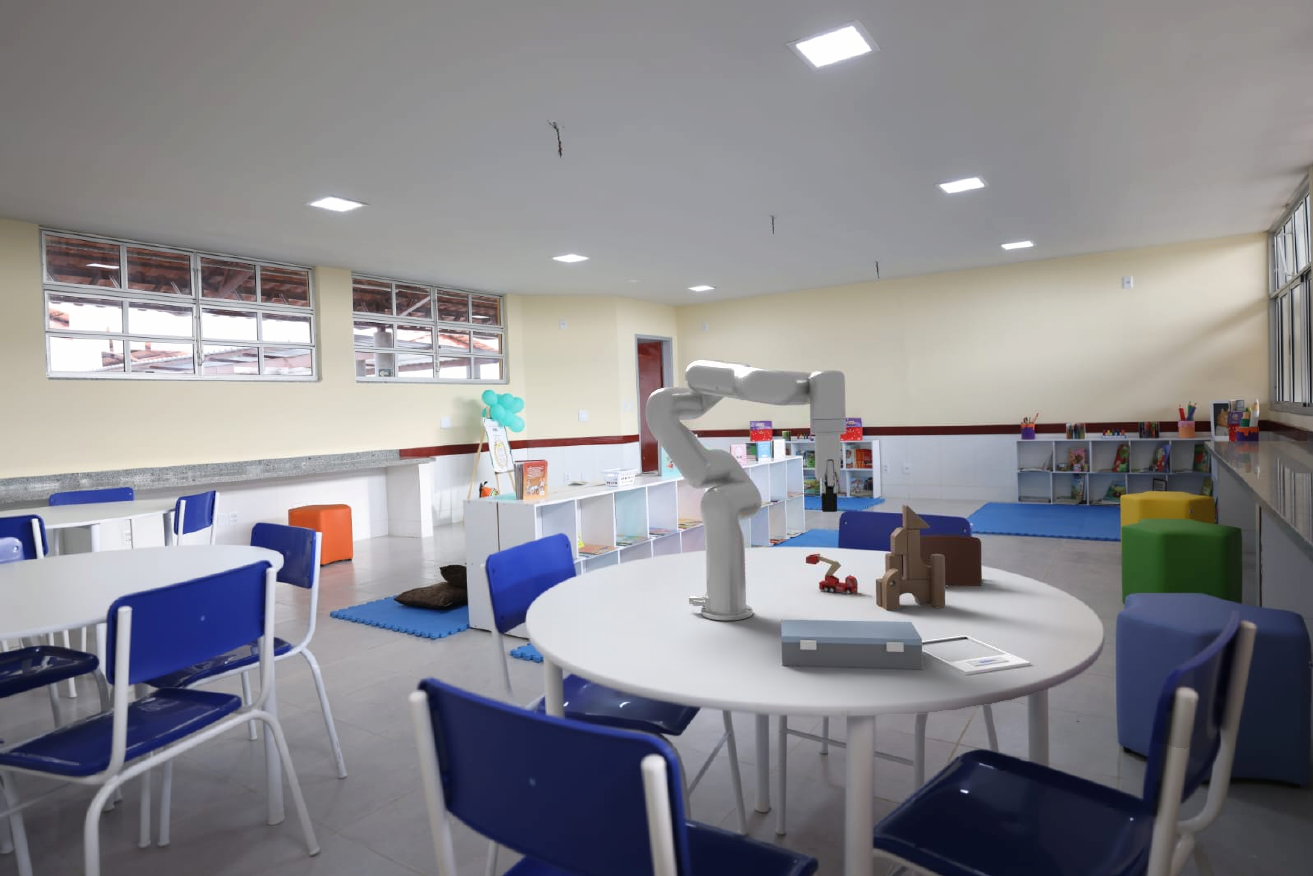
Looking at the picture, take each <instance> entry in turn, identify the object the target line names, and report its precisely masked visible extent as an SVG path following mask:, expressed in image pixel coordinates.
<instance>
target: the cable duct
mask: <svg viewBox="0 0 1313 876" xmlns="http://www.w3.org/2000/svg"><path fill="white" fill-rule="evenodd" d="M781 637H782V633H781ZM922 649H923V644H922V645H904V652H889V651H887V648H886V645H883V644H838V643H816V650H805V649H800V643H794V642H782V641H781V661H782V662H781V663H782V665H781V666H785V667H786V666H787V667H788V666H789V667H790V666H794V667H795V666H797V667H798V666H799V667H824V668H825V667H827V668H828V667H831V668H864V669H866V668H868V669H899V670H900V669H904V670H923V653H922Z"/></svg>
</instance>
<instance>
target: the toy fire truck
mask: <svg viewBox="0 0 1313 876" xmlns="http://www.w3.org/2000/svg"><path fill="white" fill-rule="evenodd" d="M820 562H823V563H826V564H829V565H831V566H829V568H828V569H827V571H826V573H825V574H824V580H821V581H819V582H818V590H820V591H824V592H825V593H828V592H830V593H834V592H836V593H845V594H846V595H851V594H856V593H858V588H859V587H858V585H859V584H858V580H857V578H856V577H855V576H852V575H851V574H849V575H848V576H846V577H845V579H844V581H845V582H840V578H839V577H837V576H835V575H834V574H835V573H836V572H837V571H838V570H839V569H840V567H842V565H841V563H840V562H839V561H837V560H833V559H831V558H827V557H825V556H821V554H820V553H814V554H809V555H807V556H805V564H809V565H817V564H819V563H820Z"/></svg>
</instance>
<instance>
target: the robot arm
mask: <svg viewBox="0 0 1313 876" xmlns="http://www.w3.org/2000/svg"><path fill="white" fill-rule="evenodd" d="M684 379H685V381H684V382H685V383H686V385H687V387H686V386H685V387H684V386H683V387H681V386H668V387H667V386H666V387H662V388H658V389H657V390H655V391H654V392H652V393H651V394H650V395H649V397H648V398H647V401H646V404H645V405H646V406H645V421H646V424H647V427H648V429H649V431H650V432H651V435H652V436H653V437H654V439H655V440H656V441H657V442H658V443H659V445H660V446H661V447H662V449H663V450H664V451H665V453H666V454H667V456H668V457H669V459H670V460H671V462H672V463H673V464H674V466H675V467H676V469H677V470H678V471H679V474H681V476H682V477H683V479H684V481H685V482H686V483H687V484H688V485H689V486H691V488H694V489H698V490H699V489H700V490H701V489H707V490H706V492H704V494H703V496H702V497H701V500H700V515H701V518H702V524H703V530H704V540H705V546H704V547H705V549H704V550H705V569H706V571H705V573H706V593H705V595H701V596H693V595H692V596H691V595H690V596H689V597H688V601H689V602H688V604H689V605H692V606H693V607H701V606H702V607H701V609H700V614H701V616H702V617H704V618H707V619H710V620H714V621H726V622H727V621H739V620H744V619H747V618H750V617H751V616H753V612H754V611H753V607H751V606H750V605H748V604H747V592H746V591H747V590H746V589H747V587H746V584H747V582H746V581H747V580H746V549H745V548H746V547H745V537H744V532H743V530H742V528H741V524H740V522H741V521H745V520H748V519H751V518H753V517H755V516H756V515H757V514H758V513H759V512H760V511H761V509H762V501H763V500H762V496H761V492H760V491H759V488H758V487H757V485H756V484H755V483H754V481H753V480H752V479H751V477H750V476H749V475H748V473H747V472H746V470H745V469H744V468H743V467H742V465H741V464H740V463H739V461H738V460H737V459H736V457H735V456H734V455H733V454H731V453H730V452H728V451H726V450H724V449H718V448H717V449H715V448H714V449H708V448H706V447H705V446H704V445H703V444H702V443H701V441H700V440H699V439H698V438H697V436H696V434H694V432H693V431H692V430H691V429H690V428H689V427H687V426H686V425H684V424H683V422H681V421H685V420H686V421H687V420H688V421H689V420H696V419H698V418H701V417H703V415H705V414H707V413H708V412H710V410H711V409H712V408H713V407H715V406H716V405H717V404H718V403H719V402H720V401H722V400H723V399H724V398H728V399H735V400H740V401H748V402H753V403H759V404H767V405H773V406H774V405H775V406H805V405H806V406H807V405H809V419H810V421H809V423H810V427H809V429H810V430H809V432H810V433H809V434H810V435H812V436H813V435H815V439H814V476H815V478H816V480H817V481H821V487H822V488H821V489H822V490H821V511H822V512H823V513H836V512H838V493H837V481H838V480H840V478H841V463H842V462H841V453H842V452H841V445H842V444H841V435H846V434H847V425H846V424H847V421H846V377H845V374H844V373H843V372H842V371H841V370H834V369H833V370H817V371H813V372H805V371H794V370H777V369H776V370H773V369H764V368H757V367H756V368H755V367H751V366H750V365H749V364H747V363H742V362H741V363H740V362H731V361H724V360H716V359H705V358H704V359H698V360H695V361H693V362H691V363H690V364H689V365H688V366H687V368H686V370H685V373H684ZM708 488H709V489H708Z"/></svg>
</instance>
